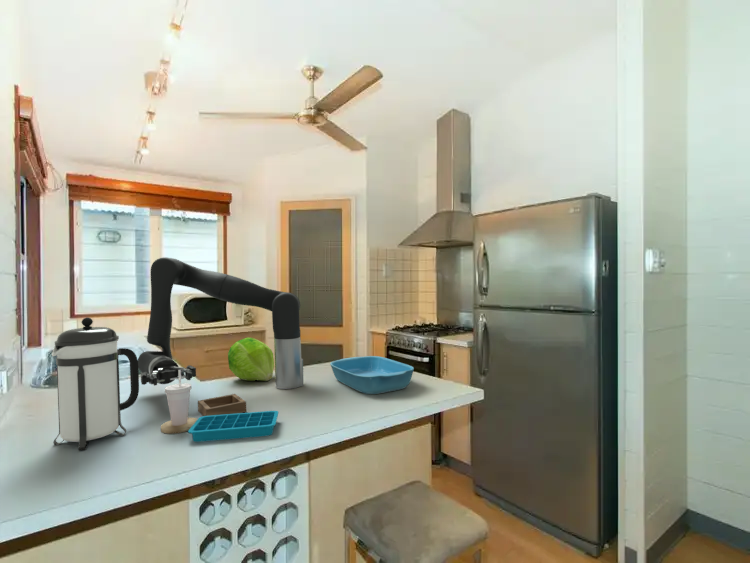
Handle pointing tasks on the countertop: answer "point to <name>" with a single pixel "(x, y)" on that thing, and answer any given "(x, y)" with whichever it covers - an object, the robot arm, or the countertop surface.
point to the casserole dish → (372, 374)
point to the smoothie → (178, 401)
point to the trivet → (171, 429)
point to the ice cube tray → (234, 426)
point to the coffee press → (91, 383)
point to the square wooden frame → (222, 405)
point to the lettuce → (251, 360)
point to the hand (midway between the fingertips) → (172, 379)
